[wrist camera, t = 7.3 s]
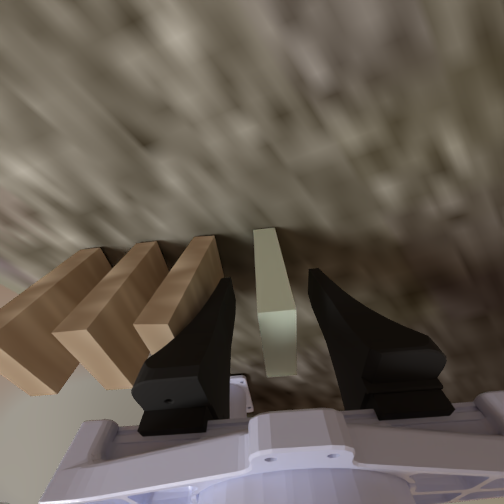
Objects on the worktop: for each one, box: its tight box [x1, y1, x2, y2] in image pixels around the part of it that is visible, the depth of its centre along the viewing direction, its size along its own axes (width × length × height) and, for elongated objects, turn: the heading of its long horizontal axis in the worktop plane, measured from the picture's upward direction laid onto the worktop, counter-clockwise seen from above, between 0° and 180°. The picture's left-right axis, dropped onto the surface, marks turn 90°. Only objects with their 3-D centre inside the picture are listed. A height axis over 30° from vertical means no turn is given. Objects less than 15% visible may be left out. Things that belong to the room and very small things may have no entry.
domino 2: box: [51, 241, 169, 390], centre depth 14 cm, size 2×5×8 cm, turn 7°
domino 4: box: [253, 228, 297, 377], centre depth 13 cm, size 2×5×8 cm, turn 7°
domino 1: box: [0, 248, 112, 396], centre depth 14 cm, size 2×5×8 cm, turn 6°
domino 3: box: [133, 236, 224, 355], centre depth 13 cm, size 2×5×8 cm, turn 7°
